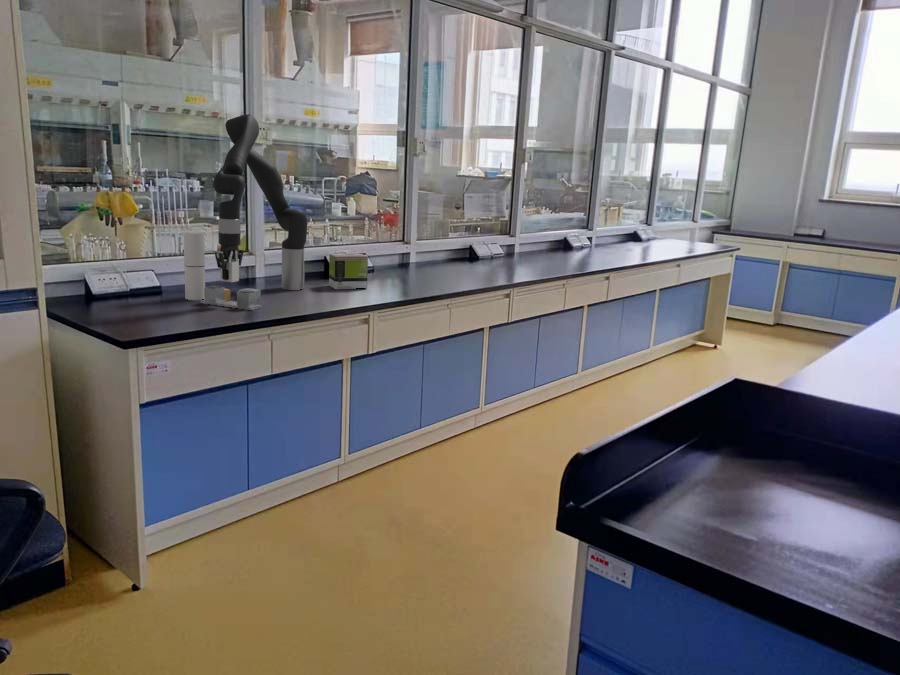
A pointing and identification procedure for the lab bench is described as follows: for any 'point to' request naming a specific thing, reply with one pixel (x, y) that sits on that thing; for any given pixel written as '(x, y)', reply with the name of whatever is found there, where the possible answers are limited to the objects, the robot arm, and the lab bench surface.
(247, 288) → the supply block
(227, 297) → the terminal block
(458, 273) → the lab bench surface
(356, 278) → the tea box
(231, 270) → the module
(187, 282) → the cylindrical container
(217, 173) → the robot arm
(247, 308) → the rail
